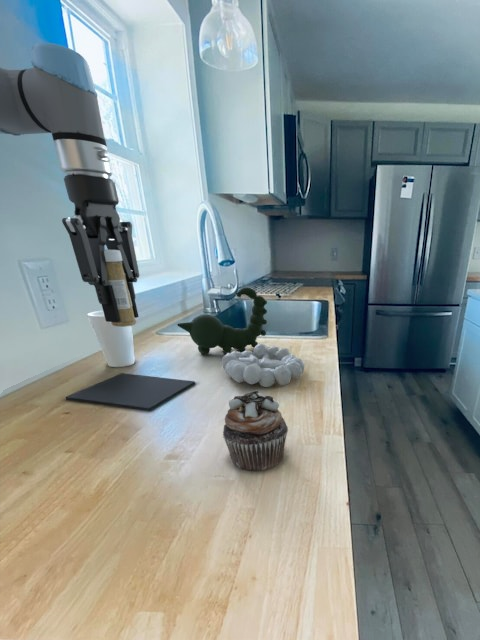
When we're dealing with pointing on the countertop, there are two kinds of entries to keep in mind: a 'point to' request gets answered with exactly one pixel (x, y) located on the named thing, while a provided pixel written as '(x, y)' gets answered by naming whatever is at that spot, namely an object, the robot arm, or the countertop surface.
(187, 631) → the countertop surface
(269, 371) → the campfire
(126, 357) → the foam cup
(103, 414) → the countertop surface
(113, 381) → the corner mat
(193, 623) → the countertop surface
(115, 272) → the sprinkles bottle
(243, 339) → the toy figurine
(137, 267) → the robot arm
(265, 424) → the cupcake
